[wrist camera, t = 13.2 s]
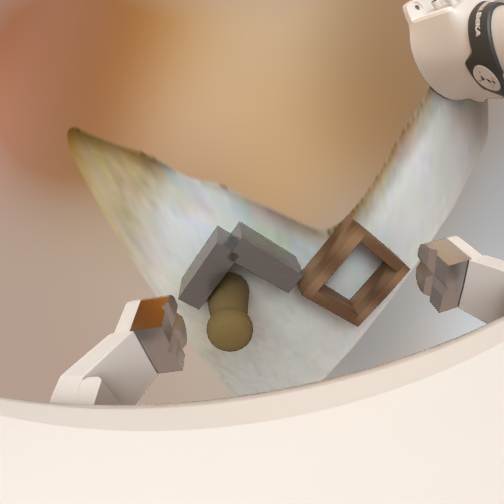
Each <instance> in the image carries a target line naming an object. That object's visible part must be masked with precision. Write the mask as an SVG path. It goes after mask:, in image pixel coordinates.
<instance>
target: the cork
mask: <svg viewBox="0 0 504 504" xmlns="http://www.w3.org/2000/svg"><path fill="white" fill-rule="evenodd" d="M248 298H249V288H248V284H247V282H246V280H245V279H244V278H243V277H241V276H240V275H238V274H236V273H232V272H227V273H226V274H225V276H224V277H223V278H222V280H221V281H220V282H219V284H218V285H217V286H216V288H215V289H214V290H213V292H212V293H211V294H210V296H209V297H208V298H207V302H208V306H209V311H210V316H211V317H210V319H209V321H208V324H207V335H208V338H209V340H210V341H211V343H212V344H213V345H214V346H215V347H217V348H218V349H220V350H223V351H228V352H231V351H237V350H240V349H242V348H243V347H245V346H246V345H247V344H248V343H249V341H250V340H251V337H252V334H253V326H252V322H251V320H250V318H249V316H248V315H247V311H248Z"/></svg>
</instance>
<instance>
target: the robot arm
mask: <svg viewBox="0 0 504 504" xmlns="http://www.w3.org/2000/svg"><path fill="white" fill-rule="evenodd" d="M415 6H416V7H417V9H416V8H415ZM403 12H404V15H405V18H406V20H407V22H408V25H409V31H410V46H411V50H412V54H413V58H414V60H415V63H416V65H417V67H418V69H419V71H420V73H421V74H422V76H423V78H424V79H425V80H426V82H427V83H428V84H429V85H430V86H431V87H432V88H433V89H434V90H435V91H436V92H437V93H439V94H440V95H442V96H444V97H446V98H448V99H451V100H463V99H472V100H474V101H477V102H484V101H486V99H491V98H492V99H493V98H494V99H495V98H496V99H497V98H504V3H501V2H496V1H495V0H411V1H409V2H407V3H406V4H404V6H403ZM418 257H419V259H420V260H421V262H420V263H419V265H418V266H417V269H416V279H417V284H418V286H419V288H420V290H421V291H422V292H423V293H424V294H426V295H429V296H430V302H431V303H432V305H433V306H434V307H435V308H436V309H437V311H438V312H439V313H440V312H443V311H447V310H450V309H452V308H456V307H459V308H460V309H462V310H464V311H465V312H467V313H469V314H471V315H473V316H474V317H476V318H478V319H480V320H481V321H483V322H485V323H487V324H486V325H484V326H482V327H480V328H478V329H476V330H473V331H471V332H469V333H466V334H464V335H462V336H459V337H457V338H454V339H452V340H449V341H447V342H444V343H442V344H439V345H437V346H434V347H432V348H429V349H426V350H424V351H421V352H418V353H415V354H412V355H409V356H406V357H403V358H400V359H397V360H394V361H391V362H388V363H385V364H382V365H378V366H375V367H371V368H368V369H365V370H361V371H358V372H354V373H350V374H347V375H343V376H339V377H335V378H331V379H327V380H323V381H318V382H314V383H309V384H305V385H300V386H295V387H290V388H285V389H280V390H275V391H269V392H263V393H257V394H251V395H244V396H237V397H230V398H222V399H213V400H205V401H194V402H182V403H169V404H168V403H167V404H147V405H136V403H137V402H138V400H139V399H140V398H141V396H142V395H143V394H144V393H145V391H146V390H147V389H148V387H149V386H150V385H151V384H152V382H153V381H154V380H155V378H156V377H157V376H158V373H167V372H174V371H182V370H183V366H184V358H185V354H184V352H183V350H182V349H183V348H184V346H185V345H186V342H187V332H186V327H185V323H184V320H183V318H182V316H181V315H179V314H178V313H176V312H177V306H178V305H177V303H176V301H175V298H174V297H173V296H172V295H167V296H160V297H153V298H147V299H139V300H134V301H129V302H127V304H126V306H125V308H124V311H123V313H122V316H121V318H120V320H119V323H118V325H117V327H116V330H115V333H114V334H109V335H108V336H107V337H106V338H105V339H103V340H102V341H101V342H100V343H99V344H98V345H97V346H95V347H94V348H93V349H92V350H91V351H89V352H88V353H87V354H86V355H85V356H83V357H82V358H81V359H80V360H79V361H78V362H76V363H75V364H74V365H73V366H72V367H71V368H69V369H68V370H67V371H66V372H65V373H64V374H62V375H61V377H60V379H59V381H58V383H57V386H56V388H55V390H54V393H53V395H52V398H51V400H50V402H41V401H32V400H23V399H16V398H9V397H2V396H0V504H504V260H500V259H497V258H494V257H491V256H487V255H484V256H482V255H481V254H480V253H479V252H477V251H476V250H475V249H474V248H472V247H471V246H470V245H468V244H467V243H466V242H465V241H463V240H462V239H460V238H459V237H458V236H451V237H447V238H444V239H441V240H437V241H433V242H429V243H426V244H422V245H420V247H419V250H418Z"/></svg>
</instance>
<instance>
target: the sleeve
mask: <svg viewBox="0 0 504 504" xmlns="http://www.w3.org/2000/svg"><path fill="white" fill-rule="evenodd" d="M359 242H361V243H362V244H363V245H365V246H366V247H367V248H368V249H370V250H371V251H372V252H373V253H375V254H376V255H377V256H378V257H380V258H381V259H382V260H383V261H384V262H383V263H382V264H381V265H380V267H379V268H378V269H377V270H376V271H375V272H374V273H373V275H372V276H371V277H370V278H369V279H368V280H367V281H366V283H365V284H364V285H363V286H362V287H361V288H360V289H359V290H358V291H357V293H356V294H355V295H354V296H353V297H352V298H351V299H350V300H348V299H346V298H345V297H343V296H342V295H340V294H338V293H337V292H335V291H334V290H332V289H330V288H329V287H327V286H326V285H324V283H325V282H326V281H327V280H328V279H329V278H330V276H331V275H332V274H333V273H334V272H335V271H336V270H337V268H338V267H339V266H340V265H341V264H342V263H343V261H344V260H345V259H346V258H347V257H348V255H349V254H350V253H351V252H352V251H353V249H354V248H355V247H356V246H357V245H358V243H359ZM409 270H410V269H409V268H408V267H407V266H406V264H405V263H404V262H403V261H402V260H401V259H400V258H399V257H398V256H396V255H395V254H394V253H393V252H392V251H391V250H390V249H388V248H387V247H386V246H385V245H384V244H383V243H381V242H380V241H379V240H378V239H377V238H376V237H374V236H373V235H372V234H371V233H370V232H368V231H367V230H366V229H365V228H364V227H362V226H361V225H360V224H359V223H357V222H356V221H355V220H354V219H353V218H351V217H350V216H349V215H347V217H346V218H345V219H344V220H343V222H342V223H341V224H340V225H339V227H338V228H337V229H336V230H335V232H334V233H333V234H332V235H331V236H330V238H329V239H328V240H327V241H326V243H325V244H324V245H323V246H322V247H321V249H320V250H319V251H318V252H317V254H316V255H315V256H314V257H313V258H312V260H311V261H310V262H309V263H308V264H307V265H306V267H305V268H304V269H303V270H302V273H303V275H304V276H303V277H302V278H301V279H300V280H299V281H298V283H297V284H298V287H299V290H300V292H301V295H303V296H305V297H306V298H308V299H310V300H312V301H313V302H315V303H317V304H319V305H320V306H322V307H324V308H326V309H327V310H329V311H331V312H333V313H334V314H336V315H338V316H340V317H342V318H343V319H345V320H347V321H349V322H350V323H352V324H354V325H356V326H359V325H360V324H361V323H362V322H363V321H364V320H365V319H366V318H367V317H368V316H369V315H370V314H371V313H372V311H373V310H374V309H375V308H376V307H377V306H378V305H379V304H380V303H381V302H382V301H383V300H384V299H385V298H386V296H387V295H388V294H389V293H390V292H391V291H392V290H393V289H394V288H395V286H396V285H397V284H398V283H399V282H400V281H401V280H402V278H403V277H404V276H405V275H406V274H407V273H408V271H409Z"/></svg>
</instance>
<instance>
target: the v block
mask: <svg viewBox="0 0 504 504" xmlns="http://www.w3.org/2000/svg"><path fill="white" fill-rule="evenodd" d="M234 262H235V263H236V264H238V265H240V266H242V267H243V268H245V269H247V270H249V271H250V272H252V273H254V274H256V275H257V276H259V277H261V278H263V279H264V280H266V281H268V282H270V283H272V284H273V285H275V286H277V287H279V288H280V289H282V290H284V291H286V292H288V293H289V292H290V291H291V289H292V288H293V287H294V286H295V285H296V284H297V283H298V281H299V280H300V279H301V278H302V277H303V276H304V275H303V273H302V270H301V268H300V266H299V264H298V261H297V259H296V257H295V256H294V255H292V254H291V253H289V252H288V251H286V250H284V249H283V248H281V247H280V246H278V245H277V244H275V243H273V242H272V241H270V240H269V239H267V238H265V237H264V236H262V235H261V234H259V233H257V232H256V231H254V230H253V229H251V228H249V227H248V226H246V225H245V224H243V223H241V222H239V223H238V225H237V226H236V227H235V229H234V230H233V232H232V233H231V234H230V233H229V232H227V231H225V230H224V229H222V228H220V227H219V226H217V227H216V229H215V230H214V232H213V233H212V235H211V236H210V238H209V239H208V241H207V242H206V243H205V245H204V246H203V248H202V249H201V251H200V252H199V254H198V255H197V257H196V258H195V260H194V261H193V263H192V264H191V266H190V267H189V269H188V270H187V272H186V273H185V275H184V276H183V278H182V282H181V287H180V292H179V297H178V299H179V300H181V301H183V302H185V303H187V304H189V305H191V306H193V307H195V308H197V309H200V308H201V306H202V305H203V304H204V302H205V301H206V300H207V298H208V297H209V296H210V294H211V293H212V292H213V290H214V289H215V288H216V286H217V285H218V284H219V282H220V281H221V280H222V278H223V277H224V276H225V274H226V273H227V272H228V270H229V269H230V267H231V266H232V265H233V263H234Z"/></svg>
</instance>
